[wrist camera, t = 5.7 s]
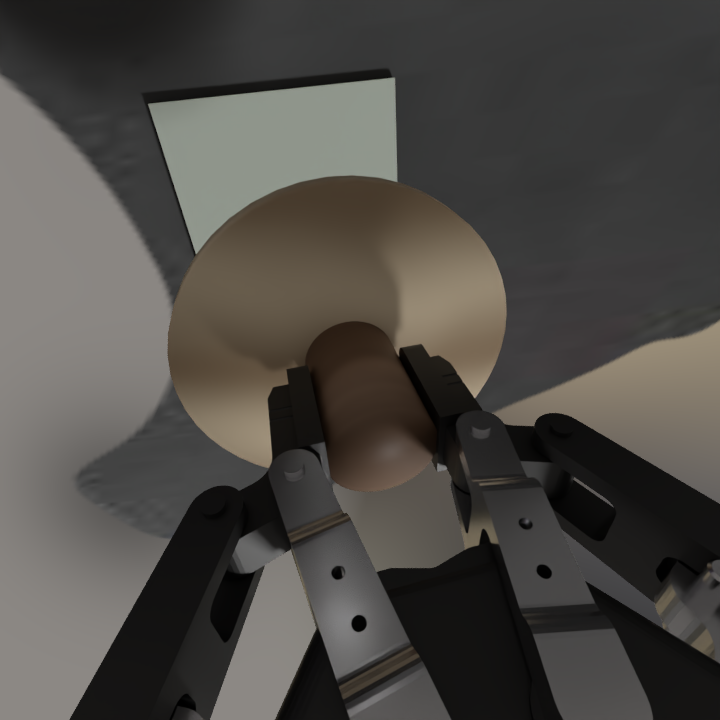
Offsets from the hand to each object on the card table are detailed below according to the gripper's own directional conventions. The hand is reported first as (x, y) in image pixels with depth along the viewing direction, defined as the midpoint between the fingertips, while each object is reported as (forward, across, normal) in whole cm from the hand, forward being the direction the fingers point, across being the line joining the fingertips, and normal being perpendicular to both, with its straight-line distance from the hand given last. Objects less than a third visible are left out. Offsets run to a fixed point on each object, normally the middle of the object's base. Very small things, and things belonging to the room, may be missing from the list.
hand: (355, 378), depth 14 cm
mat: (+16, 0, -1) cm, 16 cm away
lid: (+2, 0, 0) cm, 2 cm away
